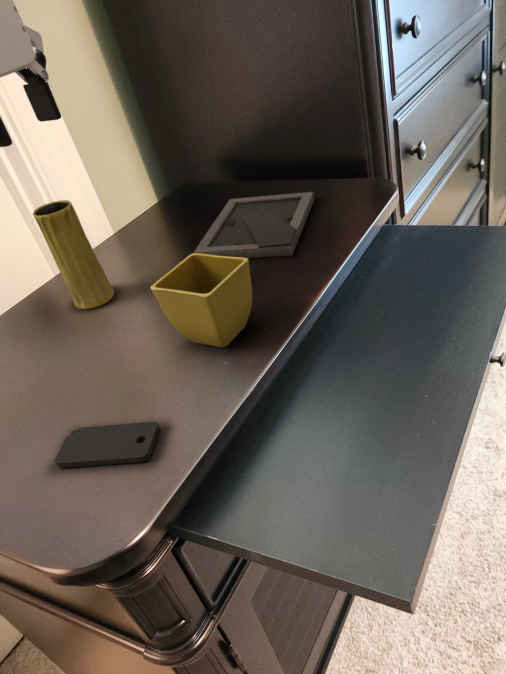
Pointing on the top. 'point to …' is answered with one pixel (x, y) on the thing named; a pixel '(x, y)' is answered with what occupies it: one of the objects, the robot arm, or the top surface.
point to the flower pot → (207, 297)
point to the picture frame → (258, 226)
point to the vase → (73, 254)
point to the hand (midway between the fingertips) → (26, 132)
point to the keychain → (108, 445)
